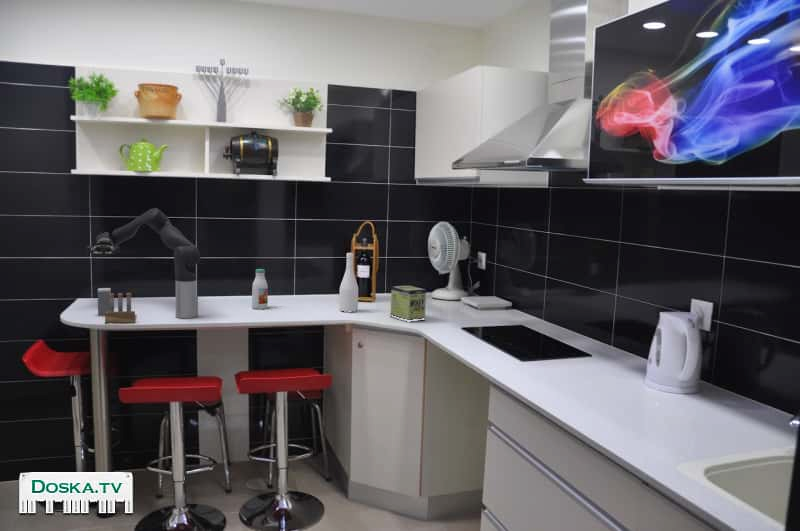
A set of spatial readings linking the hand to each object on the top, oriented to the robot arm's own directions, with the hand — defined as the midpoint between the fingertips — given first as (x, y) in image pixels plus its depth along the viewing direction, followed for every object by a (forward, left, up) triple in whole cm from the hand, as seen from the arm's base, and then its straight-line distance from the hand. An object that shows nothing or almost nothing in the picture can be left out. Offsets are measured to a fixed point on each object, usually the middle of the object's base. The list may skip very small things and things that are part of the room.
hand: (102, 252), depth 310 cm
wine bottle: (-98, +64, -28) cm, 121 cm away
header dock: (+1, +23, -28) cm, 37 cm away
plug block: (+3, +9, -28) cm, 30 cm away
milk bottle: (-65, +33, -28) cm, 79 cm away
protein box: (-110, +95, -29) cm, 149 cm away
